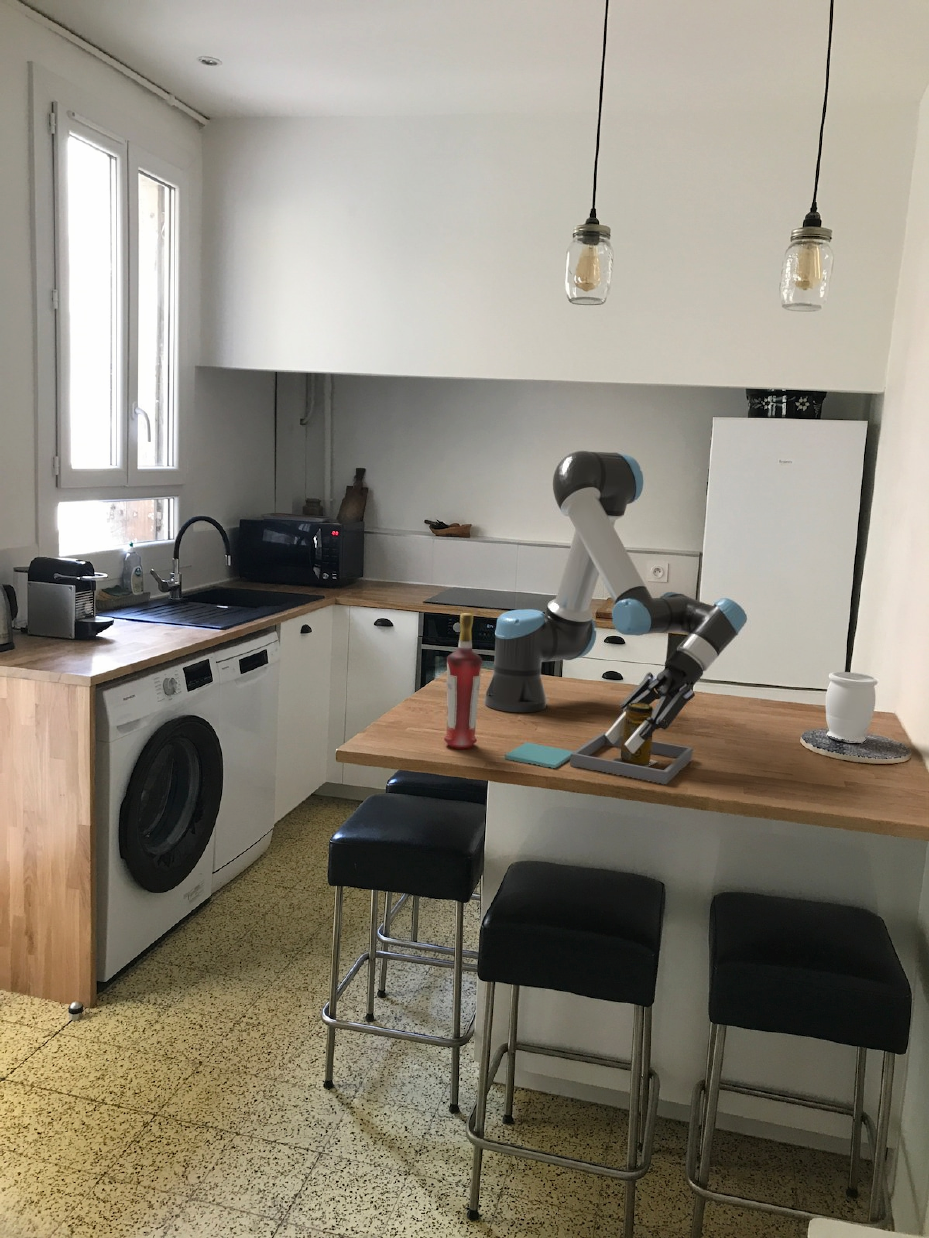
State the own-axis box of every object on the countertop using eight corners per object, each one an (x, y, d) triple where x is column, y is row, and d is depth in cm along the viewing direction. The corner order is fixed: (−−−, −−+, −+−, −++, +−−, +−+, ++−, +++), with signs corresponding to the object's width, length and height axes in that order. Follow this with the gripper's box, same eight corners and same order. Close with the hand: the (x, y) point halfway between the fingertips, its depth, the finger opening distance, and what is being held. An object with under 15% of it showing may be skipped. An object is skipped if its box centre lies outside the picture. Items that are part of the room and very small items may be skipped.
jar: (877, 740, 224) (885, 677, 222) (860, 748, 217) (868, 683, 214) (832, 730, 231) (839, 669, 229) (814, 738, 224) (821, 674, 221)
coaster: (504, 758, 196) (504, 754, 196) (526, 745, 206) (526, 742, 206) (555, 768, 191) (555, 764, 191) (574, 755, 201) (575, 751, 201)
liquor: (441, 740, 207) (447, 611, 202) (475, 741, 207) (482, 612, 203) (443, 750, 199) (450, 616, 195) (479, 751, 200) (486, 618, 196)
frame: (569, 765, 194) (570, 753, 193) (602, 742, 211) (603, 731, 210) (665, 784, 185) (666, 772, 184) (691, 759, 202) (692, 747, 202)
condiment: (657, 762, 199) (662, 705, 197) (639, 771, 192) (644, 712, 190) (625, 754, 203) (630, 698, 201) (606, 763, 196) (611, 706, 194)
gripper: (730, 683, 193) (657, 769, 189) (669, 663, 210) (601, 742, 205) (712, 658, 190) (637, 745, 186) (652, 640, 207) (582, 720, 202)
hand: (619, 743), depth 196 cm, fingers closed on condiment, 6 cm apart
